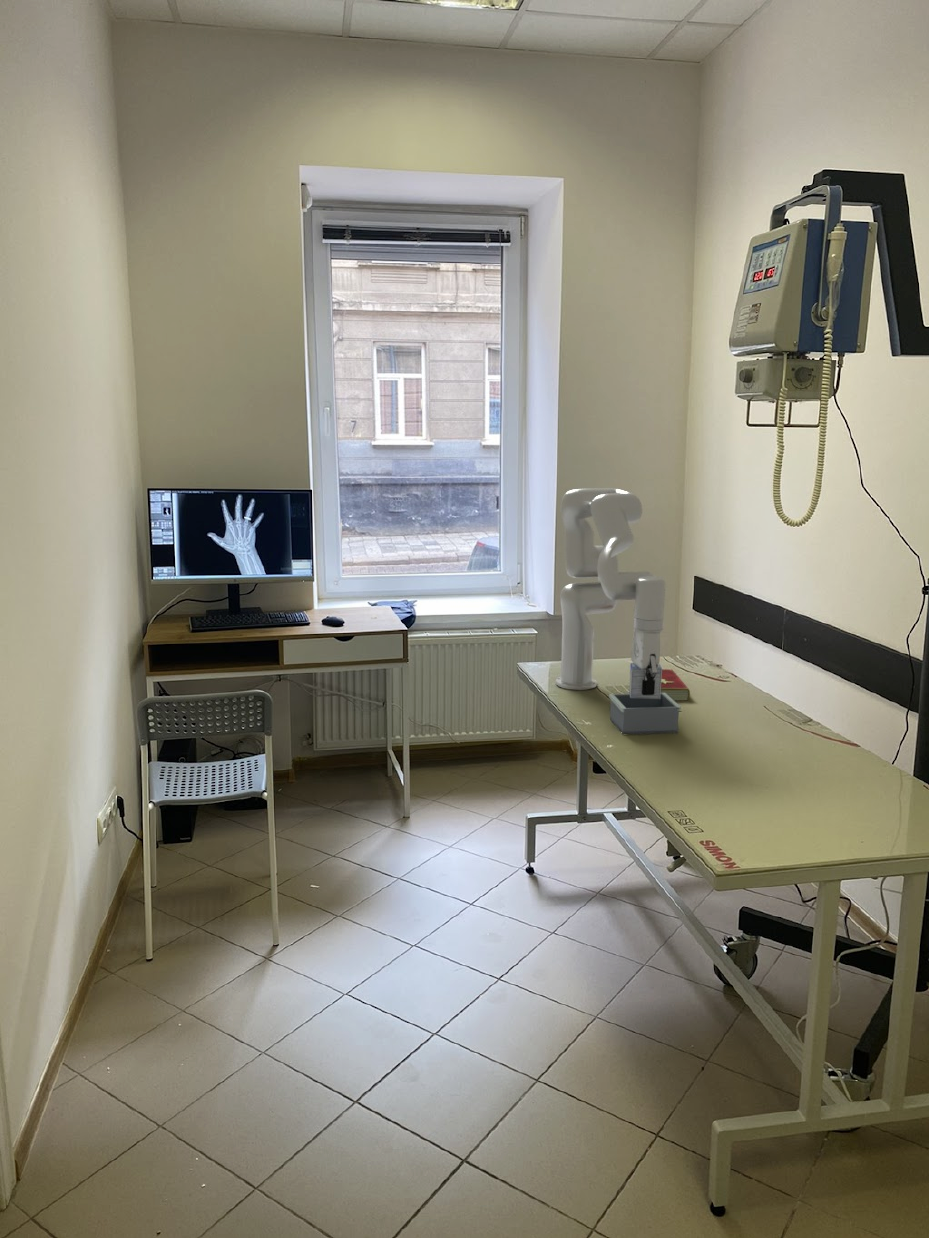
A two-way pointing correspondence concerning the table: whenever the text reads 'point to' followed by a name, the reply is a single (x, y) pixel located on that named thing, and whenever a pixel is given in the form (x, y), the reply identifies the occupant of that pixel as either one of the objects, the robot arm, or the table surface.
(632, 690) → the medicine box
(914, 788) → the table surface
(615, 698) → the bin
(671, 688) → the hardcover book
